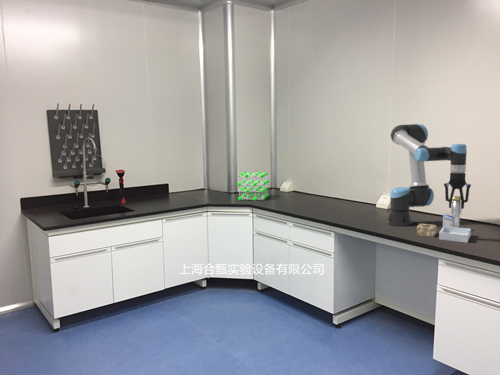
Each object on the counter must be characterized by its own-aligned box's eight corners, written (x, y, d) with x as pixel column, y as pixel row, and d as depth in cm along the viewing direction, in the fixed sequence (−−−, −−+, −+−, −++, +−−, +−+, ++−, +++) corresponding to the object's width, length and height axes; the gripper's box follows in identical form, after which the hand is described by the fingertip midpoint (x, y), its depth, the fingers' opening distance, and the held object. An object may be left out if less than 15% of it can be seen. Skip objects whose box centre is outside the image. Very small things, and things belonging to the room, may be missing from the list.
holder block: (416, 235, 233) (416, 226, 233) (419, 231, 241) (420, 223, 240) (433, 237, 228) (433, 228, 228) (436, 233, 236) (436, 225, 235)
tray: (438, 239, 224) (439, 232, 223) (443, 232, 237) (443, 226, 236) (467, 242, 216) (467, 235, 215) (470, 235, 229) (470, 228, 228)
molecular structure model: (264, 201, 358) (263, 174, 354) (237, 200, 364) (236, 174, 360) (269, 196, 381) (268, 171, 378) (244, 196, 387) (243, 171, 384)
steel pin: (449, 225, 224) (450, 197, 222) (451, 224, 229) (452, 195, 226) (460, 226, 222) (461, 198, 219) (461, 224, 226) (462, 196, 224)
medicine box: (442, 227, 248) (442, 214, 247) (447, 226, 250) (448, 213, 249) (453, 230, 241) (453, 216, 240) (458, 229, 243) (459, 215, 242)
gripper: (440, 172, 222) (438, 213, 226) (474, 173, 213) (472, 216, 217) (442, 171, 229) (440, 211, 232) (475, 172, 219) (473, 214, 223)
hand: (456, 213), depth 224 cm, fingers closed on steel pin, 3 cm apart
